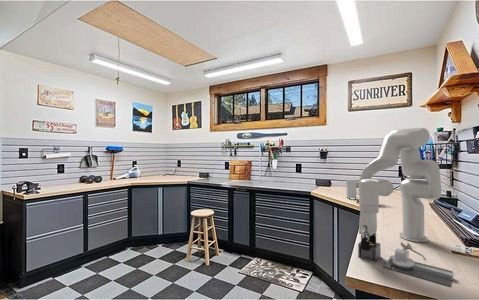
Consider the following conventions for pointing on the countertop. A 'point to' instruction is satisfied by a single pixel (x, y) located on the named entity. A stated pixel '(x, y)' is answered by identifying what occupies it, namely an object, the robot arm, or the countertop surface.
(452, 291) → the countertop surface
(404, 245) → the pliers
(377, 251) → the socket
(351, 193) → the hard drive box
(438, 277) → the lever switch plate
